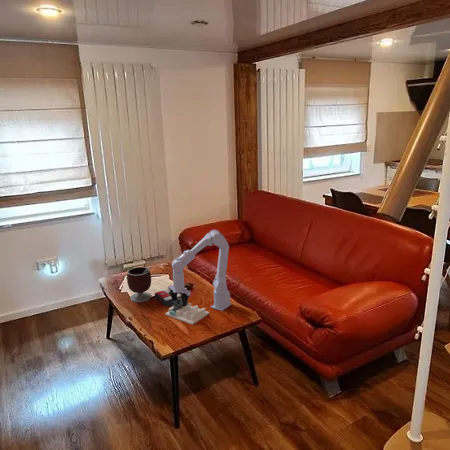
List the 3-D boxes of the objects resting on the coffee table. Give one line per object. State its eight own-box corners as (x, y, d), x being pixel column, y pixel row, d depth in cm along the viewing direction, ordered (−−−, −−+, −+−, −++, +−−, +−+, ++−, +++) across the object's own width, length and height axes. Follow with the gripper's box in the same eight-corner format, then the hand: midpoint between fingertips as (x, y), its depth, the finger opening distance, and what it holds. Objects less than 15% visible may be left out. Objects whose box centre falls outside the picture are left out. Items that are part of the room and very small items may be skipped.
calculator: (170, 287, 236) (182, 294, 225) (170, 294, 237) (183, 301, 226) (154, 292, 230) (165, 299, 218) (154, 299, 231) (166, 307, 219)
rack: (182, 304, 221) (182, 299, 220) (209, 313, 210) (208, 307, 210) (165, 315, 210) (165, 309, 209) (192, 324, 199) (192, 318, 198)
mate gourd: (124, 301, 226) (121, 269, 221) (135, 291, 239) (132, 261, 234) (149, 304, 223) (146, 271, 217) (158, 293, 236) (156, 263, 230)
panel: (184, 305, 217) (183, 294, 216) (187, 307, 216) (187, 295, 214) (173, 312, 210) (173, 300, 208) (177, 313, 209) (176, 301, 207)
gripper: (163, 280, 209) (165, 303, 213) (184, 286, 201) (185, 310, 205) (172, 276, 215) (173, 298, 218) (192, 282, 206) (193, 305, 210)
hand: (179, 304), depth 212 cm, fingers open, 6 cm apart
